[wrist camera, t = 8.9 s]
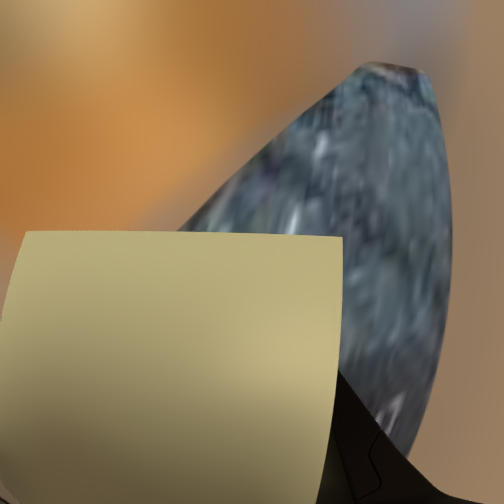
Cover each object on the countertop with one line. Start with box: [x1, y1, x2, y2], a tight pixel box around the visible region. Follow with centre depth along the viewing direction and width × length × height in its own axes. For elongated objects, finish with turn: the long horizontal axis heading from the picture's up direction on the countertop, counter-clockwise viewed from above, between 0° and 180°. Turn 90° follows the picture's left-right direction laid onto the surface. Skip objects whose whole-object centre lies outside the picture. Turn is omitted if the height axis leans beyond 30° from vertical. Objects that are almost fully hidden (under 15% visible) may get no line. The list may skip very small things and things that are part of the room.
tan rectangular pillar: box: [0, 231, 343, 504], centre depth 8 cm, size 5×5×13 cm
